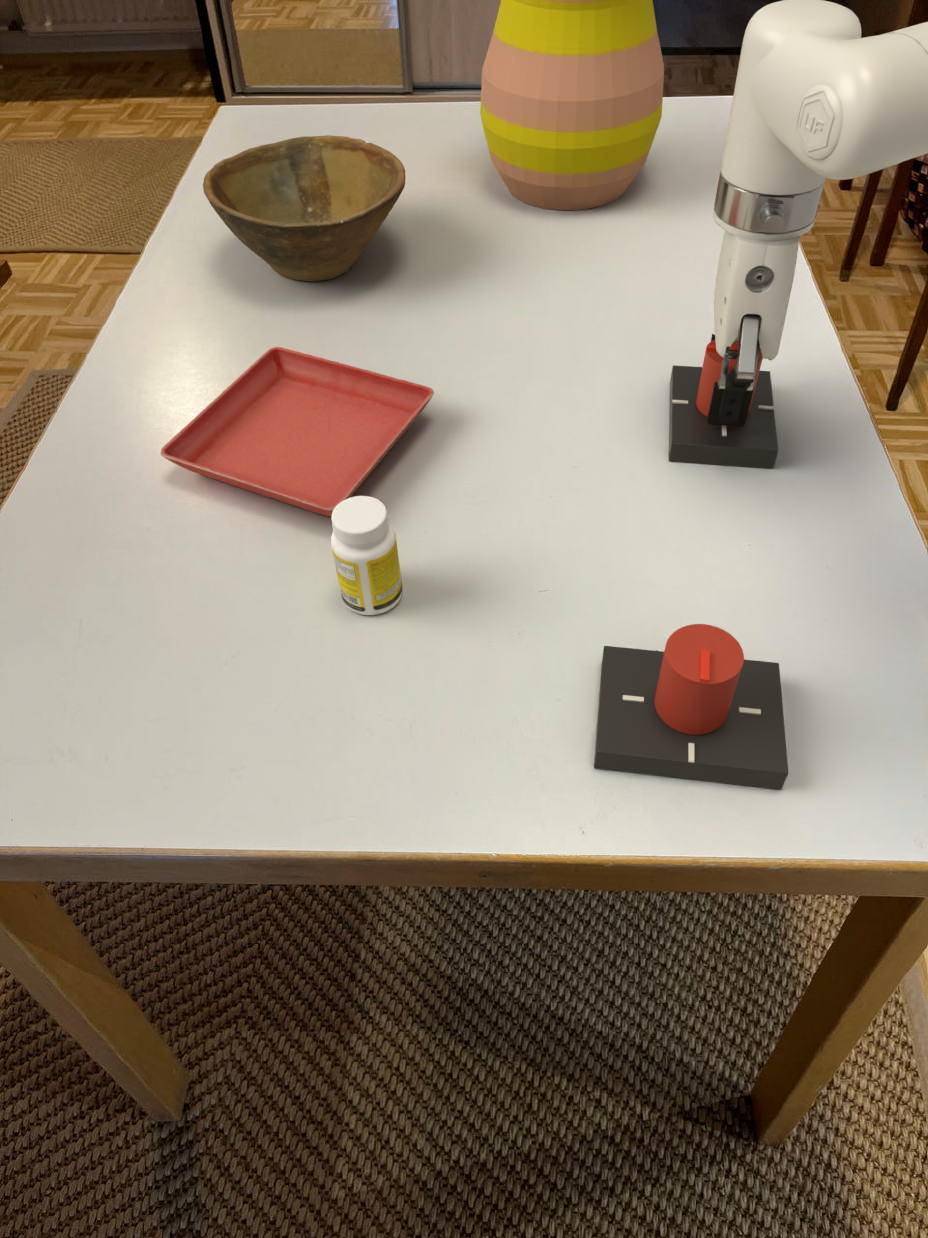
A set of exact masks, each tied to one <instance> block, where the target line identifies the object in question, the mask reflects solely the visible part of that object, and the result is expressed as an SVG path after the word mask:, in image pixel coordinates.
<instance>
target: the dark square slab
mask: <svg viewBox="0 0 928 1238" xmlns="http://www.w3.org/2000/svg"><path fill="white" fill-rule="evenodd" d="M702 367H703V366H690V365H689V366H688V365H672V367H671V373H670V381H669V412H668V413H669V417H668V418H669V419H668V422H669V423H668V461H669V462H675V463H690V464H703V465H717V466H719V465H720V466H732V467H745V468H756V469H757V468H758V469H759V468H760V469H770V470H771V469H772V470H773V469H775V465H776V462H777V457H778V454H779V443H778V434H777V424H776V415H775V409H776V407H775V405H774V396H773V387H772V377H771V376H772V375H771V371H770V370H760V371H759V375H758V379H757V384H756V388H755V392H754V396H753V400H752V404H751V408H750V411H749V413H748V415H747V419H746V423H745V425H744V426H742V427H736V426H720V425H710V424H708V420H707V416H705V415H704V414H702V413H701V412H700V411H699V410H698V408H697V406H696V399H697V394H698V389H699V383H700V378H701V373H702Z"/></svg>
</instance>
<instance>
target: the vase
mask: <svg viewBox="0 0 928 1238" xmlns="http://www.w3.org/2000/svg"><path fill="white" fill-rule="evenodd" d="M656 21H657V20H656V14H655V7H654V2H653V0H500V4H499V8H498V12H497V16H496V20H495V24H494V27H493V32H492V35H491V39H490V42H489V44H488V48H487V52H486V55H485V58H484V62H483V65H482V69H481V85H480V86H481V87H480V88H481V89H480V91H481V92H480V107H479V108H480V111H479V115H480V119H481V124H482V128H483V133H484V136H485V142H486V145H487V150H488V153H489V158H490V161H491V163H492V165H493V166H494V168H495V169H496V171H497V174H498V175H499V176H500V178H501V179H502V181H503V183H504V185H505V187H507V189H508V191H509V192H510V194H511V195H512V196H513V197H515V198H516V199H517V200H519V201H521V202H523V203H524V204H527V205H530V206H534V207H537V208H541V209H546V210H554V211H582V210H587V209H588V210H589V209H594V208H597V207H601V206H604V205H607V204H609V203H612V202H613V201H616V200H617V199H618V198H619V197H621V196H622V195H623V194H624V193H625V192H626V190H627V189H628V187H629V186H630V184H632V182H633V181H634V179H635V178H636V176H637V175H638V174H639V172H640V171H641V169H643V167H644V165H645V164H646V162H647V160H648V157H649V154H650V151H651V148H652V146H653V142H654V140H655V137H656V135H657V131H658V129H659V126H660V123H661V120H662V116H663V97H664V82H665V64H664V59H663V54H662V48H661V43H660V38H659V33H658V28H657V22H656Z"/></svg>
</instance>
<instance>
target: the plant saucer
mask: <svg viewBox="0 0 928 1238" xmlns="http://www.w3.org/2000/svg"><path fill="white" fill-rule="evenodd" d="M434 395H435V390H434V389H433V388H432V387H429V386H427V385H423V384H419V383H414V382H411V381H408V380H405V379H400V378H397V377H393V376H389V375H386V374H382V373H379V372H375V371H371V370H368V369H363V368H361V367H356V366H353V365H350V364H346V363H341V362H339V361H335V360H330V359H327V358H322V357H319V356H315V355H311V354H308V353H303V352H301V351H296V350H293V349H289V348H286V347H280V346H275V347H271V348H269V349H267V351H266V352H264V353H263V354H262V355H261V356H260V357H259V358H258V359H257V360H256V361H255V362H253V364H251V365H250V366H249V367H248V368H247V369H246V370H245V371H243V373H241V375H239V377H237V378H236V379H235V380H234V381H233V382H232V383H230V384H229V385H228V386H227V388H225V389H224V390H223V391H222V392H221V393H220V394H219V395H218V396H217V397H215V398H214V399H213V400H212V401H211V402H210V403H209V404H208V405H207V406H206V407H205V408H204V409H202V410H201V412H199V413H198V414H197V415H196V416H194V418H193V419H192V420H190V421H189V422H188V424H186V425H185V426H184V427H183V428H182V429H181V430H180V431H179V432H178V433H176V434H175V435H174V436H173V437H171V439H170V440H169V441H167V443H165V444H164V445H163V447H161V449H160V452H159V453H160V456H161V457H162V458H164V459H166V460H168V461H169V462H171V463H173V464H175V465H177V466H179V467H182V468H184V469H185V470H188V471H190V472H193V473H195V474H198V475H200V476H204V477H207V478H209V479H210V478H211V479H213V480H216V481H219V482H221V483H222V482H223V483H226V484H229V485H232V486H234V487H237V488H241V489H244V490H247V491H249V492H252V493H256V494H259V495H262V496H265V497H268V498H270V499H274V500H277V501H280V502H282V503H286V504H289V505H292V506H294V507H297V508H301V509H304V510H307V511H310V512H314V513H315V514H319V515H322V516H324V517H325V516H326V517H330V516H332V512H333V510H334V508H335V507H336V506H337V505H338V504H339V503H340V502H342V501H344V500H346V499H348V498H351V497H353V494H354V493H356V491H357V490H358V488H360V486H361V485H362V484H363V483H364V482H365V480H366V479H367V478H368V476H370V474H371V473H372V472H373V470H374V469H375V468H376V467H377V466H378V465H379V463H380V462H382V460H383V459H384V458H385V457H386V455H387V454H388V453H389V452H390V450H391V449H392V448H393V447H394V446H395V444H396V443H397V442H398V441H399V439H400V438H401V437H402V436H403V435H404V434H405V433H406V431H407V430H408V429H409V428H410V426H412V424H413V423H414V422H415V421H416V419H417V418H418V417H419V416H420V415H421V413H422V412H423V411H424V409H425V408H426V407H427V406H428V404H429V402H430V401H431V400H432V398H433V396H434Z"/></svg>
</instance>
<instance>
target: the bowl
mask: <svg viewBox="0 0 928 1238" xmlns="http://www.w3.org/2000/svg"><path fill="white" fill-rule="evenodd" d="M405 186H406V168H405V165H404V164H403V162H402V161H401V159H399V158H398V157H397V155H395V154H394V153H392V152H391V151H389V150H387V149H385V148H384V147H382V146H380V145H377V144H375V143H373V142H366V141H365V140H363V139H360V138H354V137H349V136H341V135H340V136H339V135H330V134H329V135H315V136H311V135H310V136H298V137H292V138H288V139H284V140H280V141H276V142H272V143H266V144H262V145H261V144H260V145H258V146H255V147H251V148H248V149H245V150H242V151H241V152H238V153H237V154H235V155H232V156H231V157H227V158H224V159H222V160H220V161H218V162H217V163H215V164H214V165H213V167H212V168H211V169H209V170H208V171H207V172H206V174H205V176H204V178H203V183H202V189H203V194H204V196H205V198H206V199H207V200H208V202H209V204H210V206H211V207H212V209H213V210H214V212H215V213H216V214H217V215H218V217H219V218H220V219H221V221H222V222H223V223H224V225H225V226H226V227H227V228H228V229H229V230H230V232H231V233H232V234H233V235H234V236H235V237H236V238H237V239H238V240H239V241H240V242H241V243H242V244H243V245H244V246H246V247H247V248H248V249H249V250H250V251H251V252H253V254H255V255H257V256H258V257H259V258H261V259H262V260H263V262H265V263H266V264H267V265H269V266H270V267H271V269H273V270H274V271H275V272H276V273H277V274H278V275H280V276H282V277H284V278H287V279H290V280H295V281H303V282H319V281H326V280H327V281H328V280H332V279H335V278H337V277H339V276H341V275H343V274H345V273H347V271H349V270H350V269H351V268H352V266H353V265H354V264H355V262H356V261H357V260H358V258H359V256H360V255H361V254H362V253H363V251H364V250H365V249H366V247H367V246H368V245H369V244H370V242H371V241H372V239H373V238H374V236H375V235H376V233H378V231H379V230H380V228H381V226H382V224H383V223H384V222H385V220H386V219H387V217H388V216H389V214H390V212H391V211H392V209H393V208H394V206H395V204H396V203H397V202H398V200H399V198H400V196H401V194H402V193H403V190H404V189H405Z"/></svg>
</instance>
